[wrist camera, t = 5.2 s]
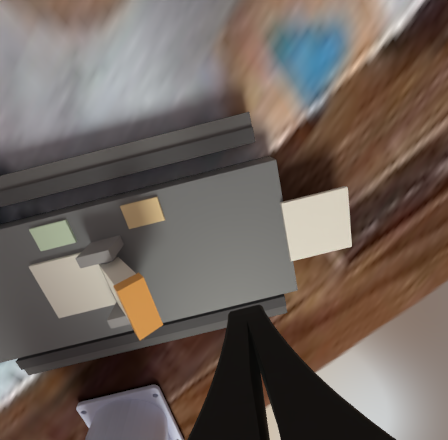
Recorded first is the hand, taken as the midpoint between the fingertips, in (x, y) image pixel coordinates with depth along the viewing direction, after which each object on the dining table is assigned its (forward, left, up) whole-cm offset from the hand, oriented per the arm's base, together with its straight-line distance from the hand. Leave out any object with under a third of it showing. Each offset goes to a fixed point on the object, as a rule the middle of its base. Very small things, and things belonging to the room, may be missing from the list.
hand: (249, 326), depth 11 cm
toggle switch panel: (0, +6, -10) cm, 11 cm away
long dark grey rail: (+7, +8, -10) cm, 15 cm away
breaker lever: (0, +8, -7) cm, 11 cm away
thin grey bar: (-7, +8, -10) cm, 14 cm away
